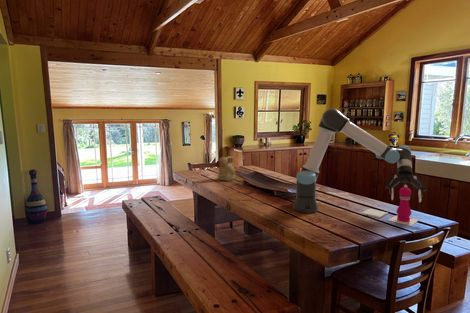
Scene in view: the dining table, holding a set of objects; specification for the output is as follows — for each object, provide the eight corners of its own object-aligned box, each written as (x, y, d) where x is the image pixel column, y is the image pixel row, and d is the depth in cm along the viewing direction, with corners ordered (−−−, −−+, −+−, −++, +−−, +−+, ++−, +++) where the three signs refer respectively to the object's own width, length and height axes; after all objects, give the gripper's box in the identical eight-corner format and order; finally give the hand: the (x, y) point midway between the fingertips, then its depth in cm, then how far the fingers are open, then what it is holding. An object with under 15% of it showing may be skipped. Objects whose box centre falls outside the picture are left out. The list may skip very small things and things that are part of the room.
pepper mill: (393, 218, 181) (395, 183, 178) (405, 217, 181) (407, 183, 179) (401, 222, 174) (403, 186, 171) (413, 222, 174) (416, 186, 172)
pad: (380, 218, 181) (380, 216, 181) (361, 214, 189) (361, 212, 189) (387, 214, 189) (387, 212, 189) (369, 210, 197) (369, 208, 197)
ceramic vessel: (213, 180, 289) (213, 152, 286) (226, 176, 305) (226, 150, 302) (228, 182, 279) (228, 154, 276) (241, 178, 295) (241, 151, 292)
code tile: (411, 225, 169) (411, 225, 169) (387, 220, 178) (387, 220, 178) (418, 220, 177) (418, 220, 177) (396, 215, 186) (396, 215, 186)
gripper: (428, 173, 186) (431, 205, 174) (381, 171, 195) (380, 201, 184) (430, 166, 181) (433, 198, 169) (381, 163, 190) (381, 194, 178)
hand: (406, 200), depth 176 cm, fingers open, 13 cm apart
